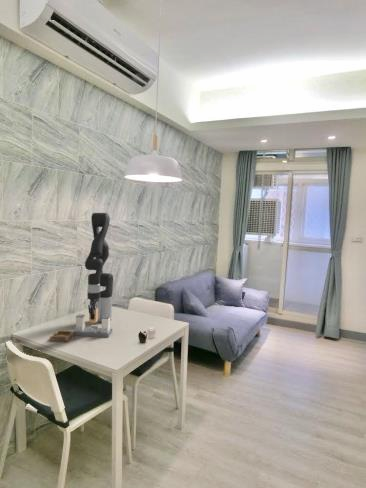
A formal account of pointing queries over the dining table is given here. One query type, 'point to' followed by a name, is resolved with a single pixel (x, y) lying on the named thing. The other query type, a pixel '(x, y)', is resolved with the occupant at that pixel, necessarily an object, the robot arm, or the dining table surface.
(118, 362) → the dining table surface
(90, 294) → the robot arm
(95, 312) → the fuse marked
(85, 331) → the fuse block
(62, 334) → the tray
